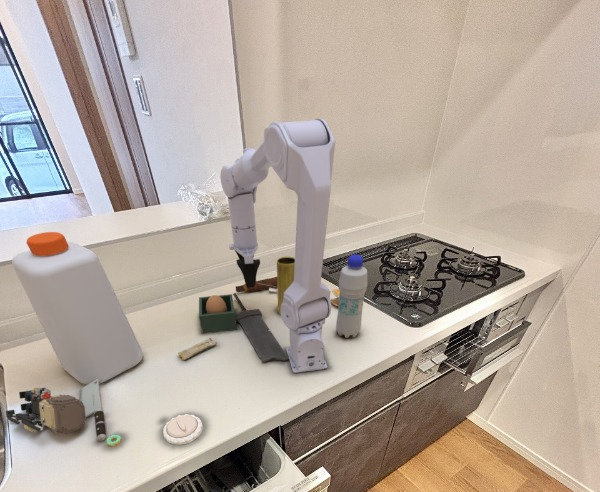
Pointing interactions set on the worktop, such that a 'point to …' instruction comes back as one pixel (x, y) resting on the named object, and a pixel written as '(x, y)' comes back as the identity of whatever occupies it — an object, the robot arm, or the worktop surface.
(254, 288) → the hand tool
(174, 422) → the white round disc
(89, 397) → the cleaver
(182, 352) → the snack bar
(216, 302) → the egg
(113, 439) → the donut
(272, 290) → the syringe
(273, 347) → the flat dark sword
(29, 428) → the toy
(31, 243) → the plastic bottle
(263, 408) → the worktop surface
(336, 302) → the shell
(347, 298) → the bottle
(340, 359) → the worktop surface
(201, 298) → the tote
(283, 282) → the vase
